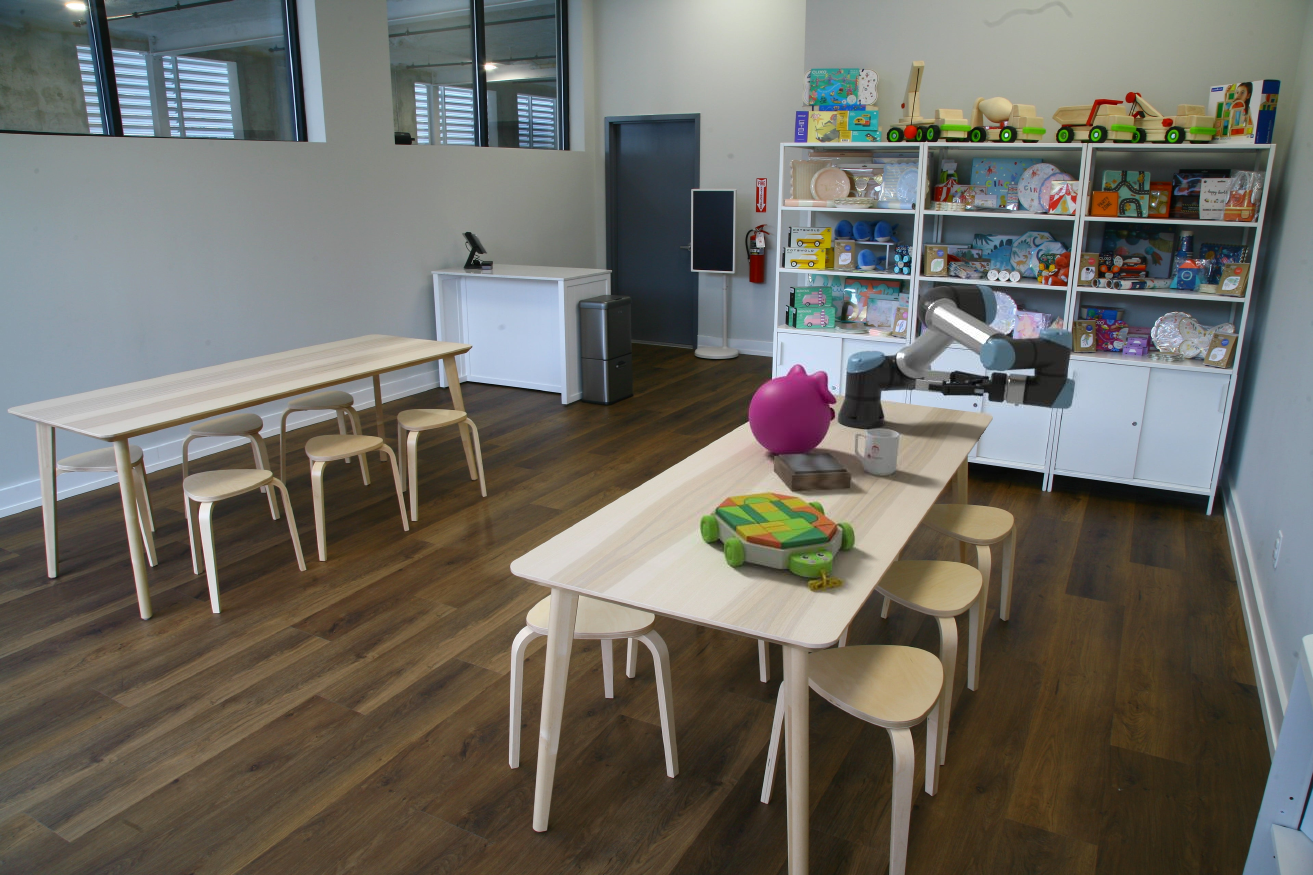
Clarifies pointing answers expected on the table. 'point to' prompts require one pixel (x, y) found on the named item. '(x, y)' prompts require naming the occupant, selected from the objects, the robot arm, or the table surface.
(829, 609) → the table surface
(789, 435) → the figurine
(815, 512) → the toy wagon
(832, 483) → the walnut plinth
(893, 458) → the mug
